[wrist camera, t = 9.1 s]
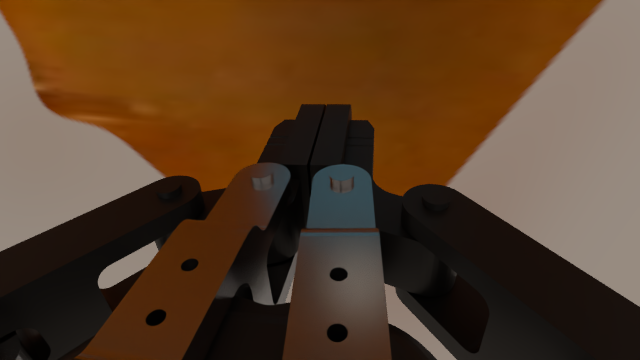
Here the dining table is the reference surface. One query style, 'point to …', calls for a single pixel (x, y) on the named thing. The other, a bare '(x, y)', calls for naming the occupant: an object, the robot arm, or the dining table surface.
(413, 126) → the dining table surface
